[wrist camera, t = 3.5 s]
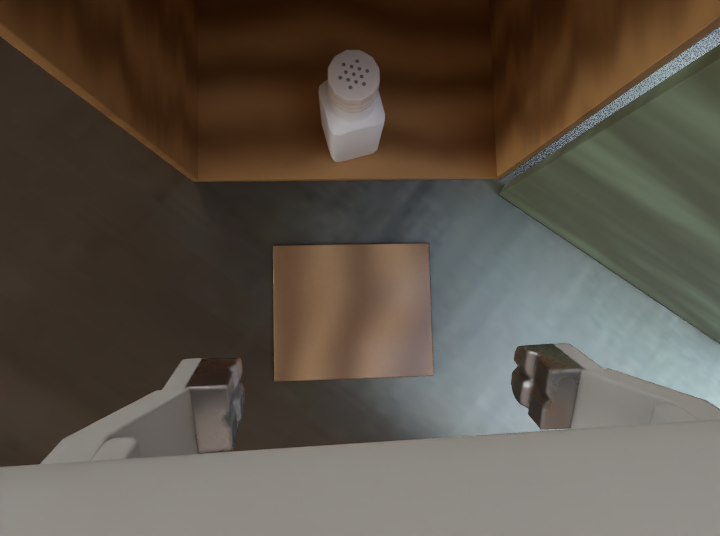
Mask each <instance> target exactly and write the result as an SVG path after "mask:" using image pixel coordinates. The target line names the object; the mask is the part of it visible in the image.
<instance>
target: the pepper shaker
mask: <svg viewBox="0 0 720 536" xmlns="http://www.w3.org/2000/svg"><path fill="white" fill-rule="evenodd" d="M379 83H380V71H379V67H378V65H377V64H376V62H375V61H374V59H373V57H372V56H370V55H368V54H366V53H365V52H363V51H361V50H345V51H343V52H342V53H340V54H338V55H336V56H334V58H333V60H332V61H331V63H330V65H329V67H328V80H326V81H324V82H323V83H322V84H321V85H320V86H319V91H318V94H319V103H320V113H321V122H322V127H323V131H324V134H325V138H326V141H327V145H328V148H329V152H330V155H331V158H332V159H333V160H334V161H335V162H343V161H347V160H350V159H354V158H358V157H362V156H365V155H369V154H373V153H374V152H375V151H377V149H378V145H379V141H380V137H381V133H382V130H383V126H384V121H385V113H384V109H383V105H382V101H381V97H380V94H379V91H378V88H379Z"/></svg>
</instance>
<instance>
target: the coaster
mask: <svg viewBox="0 0 720 536" xmlns="http://www.w3.org/2000/svg"><path fill="white" fill-rule="evenodd" d="M273 301H274V381H301V380H329V379H357V378H385V377H413V376H433V375H434V371H433V342H432V313H431V284H430V255H429V243H406V244H346V245H286V246H273Z"/></svg>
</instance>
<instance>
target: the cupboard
mask: <svg viewBox="0 0 720 536" xmlns="http://www.w3.org/2000/svg"><path fill="white" fill-rule="evenodd" d="M719 27H720V0H0V36H1V37H2V38H3V39H5V40H6V41H7V42H8V43H10V44H11V45H12V46H14V47H15V48H16V49H18V50H19V51H20V52H22V53H23V54H24V55H26V56H27V57H28V58H30V59H31V60H32V61H34V62H35V63H36V64H38V65H39V66H40V67H42V68H43V69H44V70H46V71H47V72H48V73H50V74H51V75H52V76H54V77H55V78H56V79H58V80H59V81H60V82H62V83H63V84H64V85H66V86H67V87H68V88H70V89H71V90H72V91H74V92H75V93H76V94H78V95H79V96H80V97H82V98H83V99H84V100H86V101H87V102H88V103H89V104H91V105H92V106H93V107H95V108H96V109H97V110H99V111H100V112H101V113H103V114H104V115H105V116H107V117H108V118H109V119H111V120H112V121H113V122H115V123H116V124H117V125H119V126H120V127H121V128H123V129H124V130H125V131H127V132H128V133H129V134H131V135H132V136H133V137H135V138H136V139H137V140H139V141H140V142H141V143H143V144H144V145H145V146H147V147H148V148H149V149H151V150H152V151H153V152H155V153H156V154H157V155H159V156H160V157H161V158H163V159H164V160H165V161H167V162H168V163H169V164H170V165H172V166H173V167H174V168H176V169H177V170H178V171H180V172H181V173H182V174H184V175H185V176H186V177H188V178H189V179H190V180H192V181H193V182H236V181H365V180H495V179H502V178H503V177H505V176H506V175H508V174H509V173H511V172H512V171H513V170H515V169H516V168H518V167H519V166H521V165H522V164H523V163H525V162H526V161H528V160H529V159H531V158H532V157H533V156H535V155H536V154H538V153H539V152H541V151H542V150H544V149H545V148H546V147H548V146H549V145H551V144H552V143H554V142H555V141H556V140H558V139H559V138H561V137H562V136H564V135H565V134H567V133H568V132H569V131H571V130H572V129H574V128H575V127H577V126H578V125H579V124H581V123H582V122H584V121H585V120H587V119H588V118H589V117H591V116H592V115H594V114H595V113H597V112H598V111H600V110H601V109H602V108H604V107H605V106H607V105H608V104H610V103H611V102H612V101H614V100H615V99H617V98H618V97H620V96H621V95H622V94H624V93H625V92H627V91H628V90H630V89H631V88H633V87H634V86H635V85H637V84H638V83H640V82H641V81H643V80H644V79H645V78H647V77H648V76H650V75H651V74H653V73H654V72H655V71H657V70H658V69H660V68H661V67H663V66H664V65H666V64H667V63H668V62H670V61H671V60H673V59H674V58H676V57H677V56H678V55H680V54H681V53H683V52H684V51H686V50H687V49H689V48H690V47H691V46H693V45H694V44H696V43H697V42H699V41H700V40H701V39H703V38H704V37H706V36H707V35H709V34H710V33H711V32H713V31H714V30H716V29H717V28H719ZM345 50H361V51H363V52H365V53H366V54H368V55H370V56H372V57H373V59H374V61H375V62H376V64H377V65H378V67H379V71H380V83H379V88H378V91H379V94H380V97H381V101H382V105H383V109H384V113H385V121H384V126H383V130H382V133H381V137H380V141H379V145H378V149H377V151H375V152H374V153H373V154H369V155H365V156H362V157H358V158H354V159H350V160H347V161H343V162H335V161H334V160H333V159H332V158H331V155H330V152H329V148H328V145H327V141H326V138H325V134H324V131H323V127H322V122H321V113H320V103H319V94H318V91H319V86H320V85H321V84H322V83H323V82H324V81H326V80H328V67H329V65H330V63H331V61H332V60H333V58H334V56H336V55H338V54H340V53H342V52H343V51H345Z"/></svg>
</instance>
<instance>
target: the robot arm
mask: <svg viewBox="0 0 720 536" xmlns="http://www.w3.org/2000/svg"><path fill="white" fill-rule="evenodd" d="M514 361H515V362H516V364H517V365H518V366H517V368H516V369H515V370H514V371H513V372H512V379H511V385H512V390H513V394H514V396H515V398H516V400H517V401H518V402H519V403H520V404H521V405H523V406H525V407H527V408H528V409H529V412H528V414H529V416H530V417H531V418H532V419H533V420H534V422H535V423H536V424H537V425H538V426H539V428H540V429H567V428H570V429H567V430H552V431H537V432H522V433H507V434H492V435H477V436H462V437H447V438H431V439H416V440H401V441H386V442H370V443H355V444H340V445H325V446H310V447H294V448H279V449H264V450H249V451H234V452H219V453H204V454H198V453H202V452H213V451H224V450H233V446H234V443H235V440H236V436H237V433H238V427H237V423H239V422H240V421H241V419H242V415H243V410H244V386H243V385H242V384H241V383H240V378H241V375H242V372H243V371H242V362H241V359H240V357H237V358H204V359H203V358H194V359H183V360H182V361H181V363H180V364H179V366H178V367H177V369H176V370H175V371H174V373H173V374H172V376H171V377H170V379H169V380H168V382H167V383H166V385H165V386H164V388H163V389H162V390H160V391H154V392H152V393H150V394H149V395H147V396H145V397H143V398H141V399H139V400H137V401H135V402H133V403H131V404H129V405H127V406H126V407H124V408H122V409H120V410H118V411H116V412H114V413H112V414H110V415H108V416H106V417H104V418H102V419H101V420H99V421H97V422H95V423H93V424H91V425H89V426H87V427H85V428H83V429H81V430H79V431H78V432H76V433H74V434H72V435H70V436H68V437H66V438H64V439H62V440H61V442H60V443H59V444H58V445H57V446H56V447H55V448H54V449H53V450H52V451H51V453H50V454H49V455H48V456H47V457H46V458H45V459H44V460H43V461H42V462H41V464H39V465H24V466H9V467H0V536H720V409H719V408H717V407H716V406H714V405H713V404H711V403H709V402H708V401H706V400H703V399H700V398H697V397H694V396H691V395H688V394H684V393H681V392H678V391H675V390H672V389H669V388H666V387H663V386H660V385H657V384H654V383H651V382H648V381H645V380H642V379H639V378H636V377H633V376H630V375H627V374H624V373H621V372H618V371H615V370H612V369H609V368H607V369H603V368H602V367H601V366H599V365H598V364H597V363H595V362H594V361H593V360H591V359H590V358H588V357H587V356H586V355H584V354H583V353H582V352H580V351H579V350H577V349H576V348H575V347H573V346H572V345H571V344H568V343H558V344H540V345H525V346H519V347H517V349H516V351H515V355H514Z"/></svg>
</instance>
